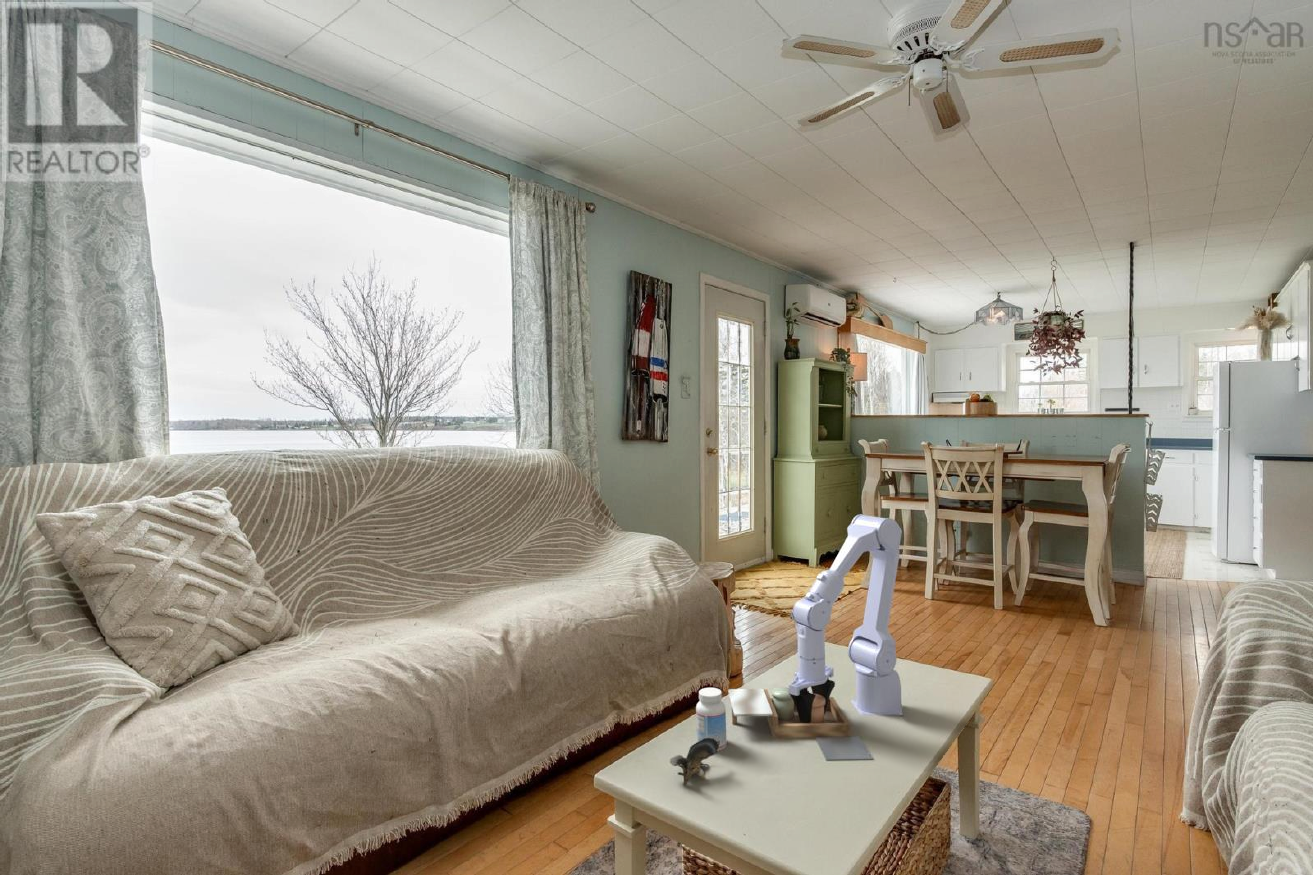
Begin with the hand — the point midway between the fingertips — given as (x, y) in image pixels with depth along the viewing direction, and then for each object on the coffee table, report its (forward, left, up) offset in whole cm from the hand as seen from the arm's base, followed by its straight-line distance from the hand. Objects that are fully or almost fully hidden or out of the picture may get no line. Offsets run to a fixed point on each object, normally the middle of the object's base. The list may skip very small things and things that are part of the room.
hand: (812, 718), depth 139 cm
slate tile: (-4, +11, -2) cm, 12 cm away
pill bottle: (+22, +8, -2) cm, 24 cm away
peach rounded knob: (0, 0, -1) cm, 1 cm away
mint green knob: (+6, -4, -1) cm, 7 cm away
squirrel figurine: (+26, +19, -2) cm, 33 cm away
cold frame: (+6, -1, -2) cm, 6 cm away
